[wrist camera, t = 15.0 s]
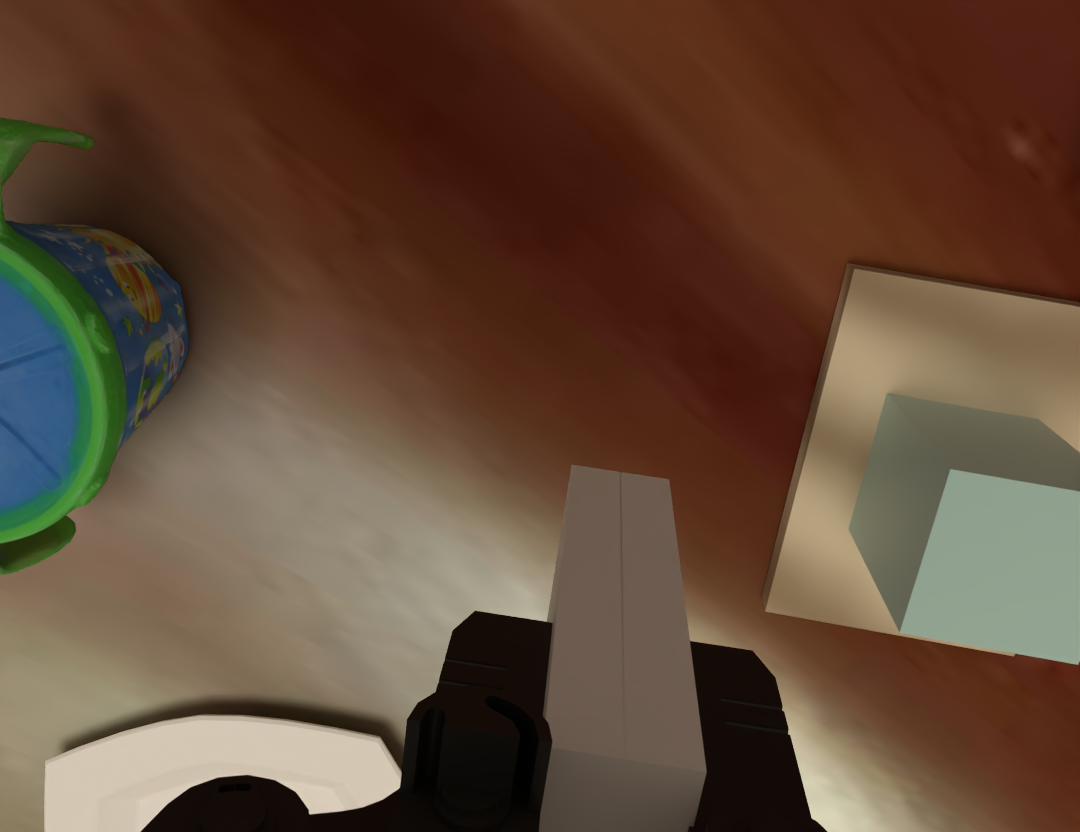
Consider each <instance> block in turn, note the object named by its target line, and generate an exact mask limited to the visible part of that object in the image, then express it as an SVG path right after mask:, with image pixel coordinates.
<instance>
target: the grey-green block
mask: <svg viewBox="0 0 1080 832" xmlns="http://www.w3.org/2000/svg"><path fill="white" fill-rule="evenodd" d="M848 530H849V532H850V534H851V536H852V538H853V540H854V542H855V544H856V546H857V548H858V550H859V552H860V554H861V556H862V558H863V560H864V562H865V564H866V566H867V568H868V570H869V572H870V574H871V576H872V578H873V580H874V582H875V584H876V586H877V588H878V590H879V592H880V594H881V596H882V598H883V600H884V602H885V604H886V606H887V608H888V610H889V612H890V614H891V616H892V618H893V621H894V623H895V625H896V627H897V629H898V631H899V633H904V634H910V635H915V636H921V637H926V638H932V639H938V640H943V641H949V642H954V643H960V644H966V645H971V646H977V647H982V648H988V649H994V650H999V651H1005V652H1010V653H1016V654H1022V655H1027V656H1033V657H1038V658H1044V659H1050V660H1055V661H1061V662H1066V663H1072V664H1079V661H1080V452H1078V451H1077V450H1076V449H1075V448H1073V447H1072V446H1071V445H1070V444H1068V443H1067V442H1066V441H1065V440H1064V439H1062V438H1061V437H1060V436H1059V435H1057V434H1056V433H1055V432H1054V431H1052V430H1051V429H1050V428H1049V427H1048V426H1046V425H1045V424H1044V423H1043V422H1041V421H1040V420H1039V419H1035V418H1029V417H1023V416H1017V415H1011V414H1006V413H1000V412H994V411H988V410H982V409H976V408H971V407H965V406H959V405H953V404H947V403H941V402H936V401H930V400H924V399H918V398H912V397H906V396H900V395H895V394H889V393H887V394H886V397H885V401H884V404H883V408H882V411H881V415H880V418H879V422H878V426H877V429H876V433H875V436H874V440H873V443H872V447H871V450H870V454H869V458H868V461H867V465H866V468H865V472H864V475H863V479H862V482H861V486H860V490H859V493H858V497H857V500H856V504H855V507H854V511H853V514H852V518H851V522H850V525H849V529H848Z"/></svg>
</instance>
